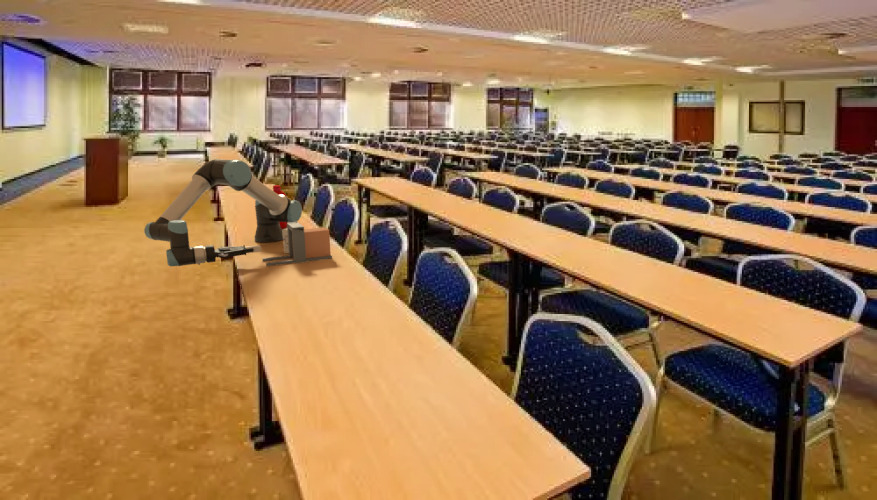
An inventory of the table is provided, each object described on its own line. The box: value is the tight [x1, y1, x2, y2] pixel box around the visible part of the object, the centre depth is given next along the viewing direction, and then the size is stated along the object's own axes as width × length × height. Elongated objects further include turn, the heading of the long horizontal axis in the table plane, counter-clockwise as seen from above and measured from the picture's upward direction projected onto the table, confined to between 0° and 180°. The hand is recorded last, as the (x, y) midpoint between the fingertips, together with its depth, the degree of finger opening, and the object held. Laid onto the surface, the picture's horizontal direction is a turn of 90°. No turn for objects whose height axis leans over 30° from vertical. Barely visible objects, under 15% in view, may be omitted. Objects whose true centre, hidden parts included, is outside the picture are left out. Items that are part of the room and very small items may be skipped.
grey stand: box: [261, 221, 333, 267], centre depth 283 cm, size 30×13×16 cm, turn 115°
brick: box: [292, 226, 332, 259], centre depth 286 cm, size 16×7×13 cm, turn 115°
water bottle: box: [272, 184, 289, 230], centre depth 357 cm, size 9×11×25 cm
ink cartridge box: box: [282, 221, 298, 254], centre depth 300 cm, size 9×5×15 cm, turn 168°
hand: (260, 248), depth 277 cm, fingers closed
